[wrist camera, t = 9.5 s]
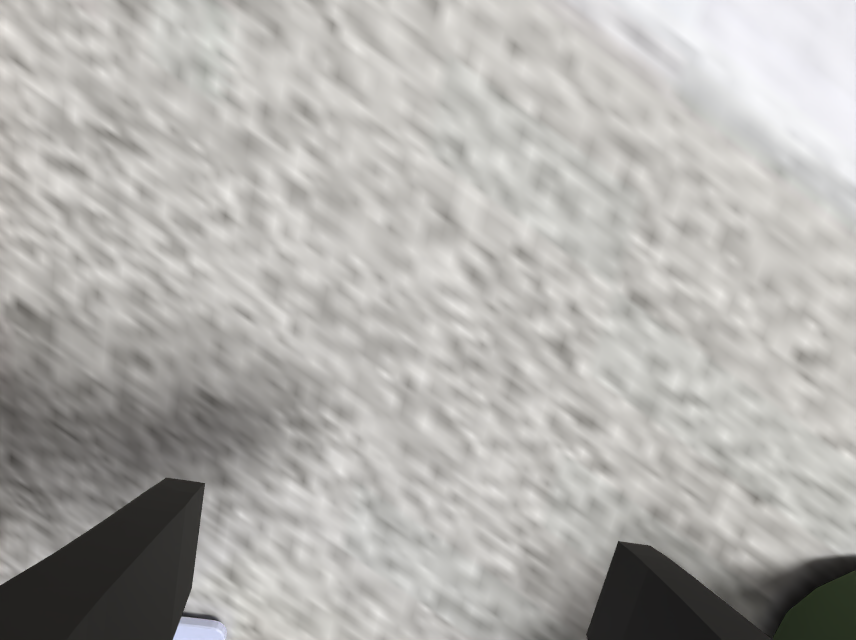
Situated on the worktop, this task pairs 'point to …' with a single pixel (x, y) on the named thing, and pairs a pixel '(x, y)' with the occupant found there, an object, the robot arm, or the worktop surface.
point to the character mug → (823, 613)
